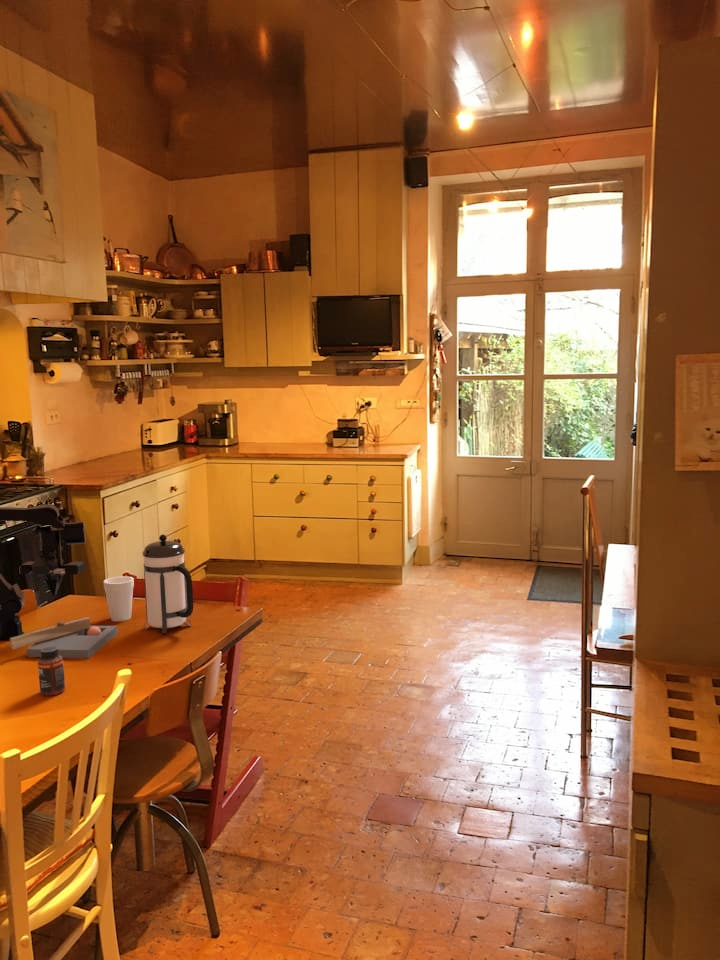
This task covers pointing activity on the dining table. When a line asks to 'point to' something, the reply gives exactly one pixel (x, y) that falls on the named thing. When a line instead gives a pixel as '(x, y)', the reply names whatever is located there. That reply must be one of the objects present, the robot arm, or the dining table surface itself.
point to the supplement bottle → (51, 672)
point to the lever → (49, 632)
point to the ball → (93, 631)
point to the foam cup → (119, 597)
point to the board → (76, 643)
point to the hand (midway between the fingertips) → (54, 594)
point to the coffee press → (167, 585)
